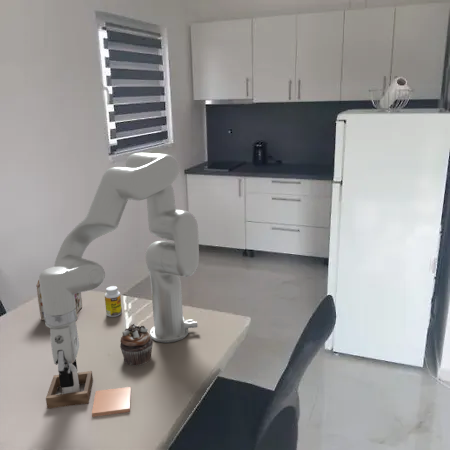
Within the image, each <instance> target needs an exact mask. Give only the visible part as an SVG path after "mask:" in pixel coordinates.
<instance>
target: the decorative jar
mask: <svg viewBox="0 0 450 450" xmlns="http://www.w3.org/2000/svg"><path fill="white" fill-rule="evenodd" d="M36 293H37V294H36V295H37V302H38V303H37V304H38V307H39V314H40V320H41V321H45V317H44V310H43V303H42V297H41V290H40V283H39V279H38V281H37V284H36ZM74 297H75V305H76V314H77V315H78V313H79V312H80V310H81V308H82V307H83V300H82V299H83V298H82V292H80V293H75V294H74Z"/></svg>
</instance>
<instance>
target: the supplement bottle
mask: <svg viewBox="0 0 450 450" xmlns="http://www.w3.org/2000/svg"><path fill="white" fill-rule="evenodd" d="M105 290H106V291H105V293H104V302H105V311H106V312H105V313H106V316H107V317H110V318H115V317H119V316H121V315H122V313H123V308H122V297H121V296H122V295H121V292H120V291H119V289H118V287H117V286H116V285H111V286H108V287H106V289H105Z"/></svg>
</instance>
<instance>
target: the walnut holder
mask: <svg viewBox="0 0 450 450" xmlns="http://www.w3.org/2000/svg"><path fill="white" fill-rule="evenodd" d="M77 373H78V380H79V385H84V388H83V389H84V390H83V391H80V392H74V393H66V394H63V393H61V394H60V393H58V394H57V392H58V389H59V388H61V387H60V380H59V374H57V375H56V374H55V375H53V377H52V379H51V382H50V384H49V387H48V391H47V393H46V397H45V401H46V402H45V403H46V409H47V410H48V409H55V408H64V407H71V406H79V405H86V404H87V405H88V404H89V403H90V400H91V399H90V397H91V393H92V390H93V389H92V388H93V382H94V377H93V371H92V370H89V371H81V372H77Z"/></svg>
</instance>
